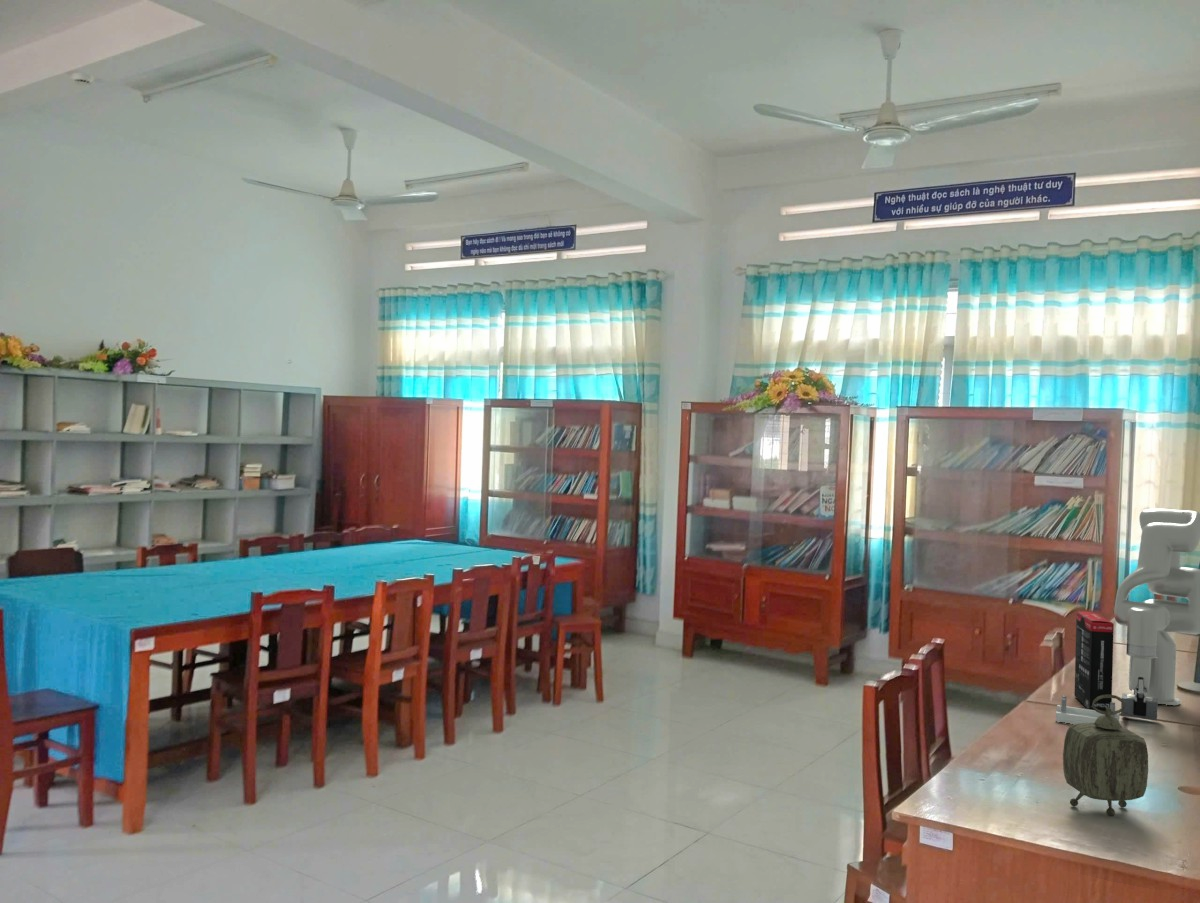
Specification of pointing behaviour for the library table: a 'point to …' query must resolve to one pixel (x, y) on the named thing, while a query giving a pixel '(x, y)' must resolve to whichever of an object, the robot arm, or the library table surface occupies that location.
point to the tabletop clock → (1105, 759)
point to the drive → (1150, 707)
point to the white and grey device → (1078, 713)
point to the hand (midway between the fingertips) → (1139, 711)
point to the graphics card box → (1093, 659)
